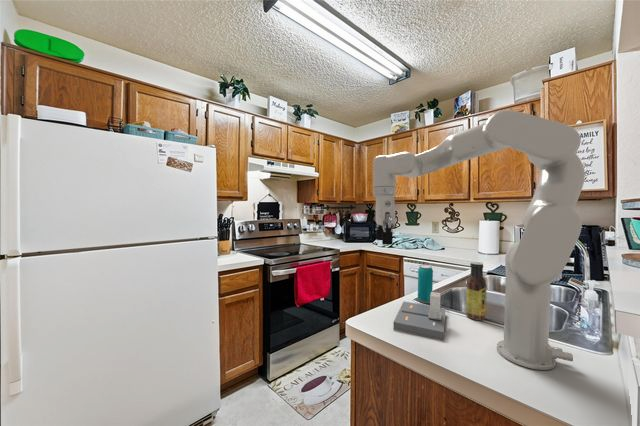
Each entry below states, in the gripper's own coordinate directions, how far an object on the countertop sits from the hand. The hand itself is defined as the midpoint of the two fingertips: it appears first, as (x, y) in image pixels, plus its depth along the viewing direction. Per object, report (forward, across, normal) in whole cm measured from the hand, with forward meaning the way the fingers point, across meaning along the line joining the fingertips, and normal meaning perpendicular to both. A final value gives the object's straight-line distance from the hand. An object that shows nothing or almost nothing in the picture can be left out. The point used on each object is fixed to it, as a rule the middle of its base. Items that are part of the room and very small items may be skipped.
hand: (383, 242), depth 90 cm
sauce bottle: (+29, +5, -35) cm, 45 cm away
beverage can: (+28, +20, -22) cm, 41 cm away
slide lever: (+25, -1, -17) cm, 31 cm away
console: (+28, +1, -13) cm, 31 cm away
